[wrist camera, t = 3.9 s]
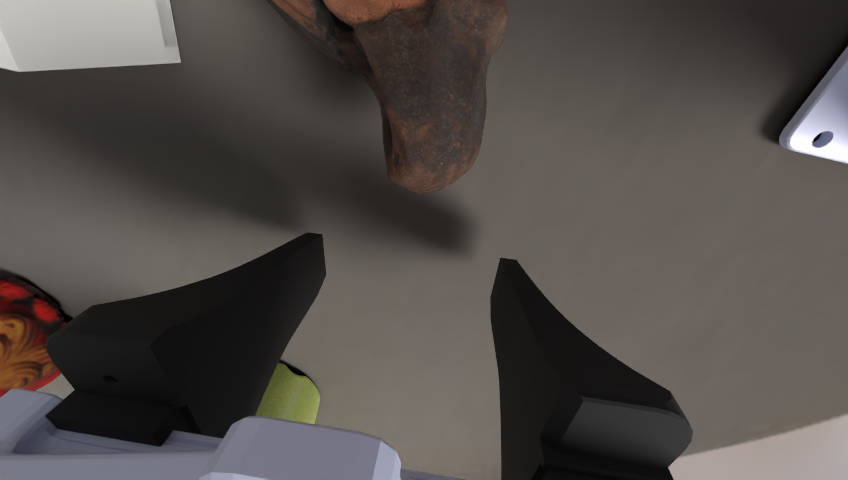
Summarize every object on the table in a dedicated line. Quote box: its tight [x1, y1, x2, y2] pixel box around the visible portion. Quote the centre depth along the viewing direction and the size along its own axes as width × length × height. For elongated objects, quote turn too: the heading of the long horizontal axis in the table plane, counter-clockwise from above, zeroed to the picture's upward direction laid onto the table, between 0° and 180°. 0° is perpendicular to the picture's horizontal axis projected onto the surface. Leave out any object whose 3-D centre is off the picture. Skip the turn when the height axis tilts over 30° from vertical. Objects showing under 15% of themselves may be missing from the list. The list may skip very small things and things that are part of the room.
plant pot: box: [255, 363, 320, 424], centre depth 18 cm, size 9×9×9 cm
